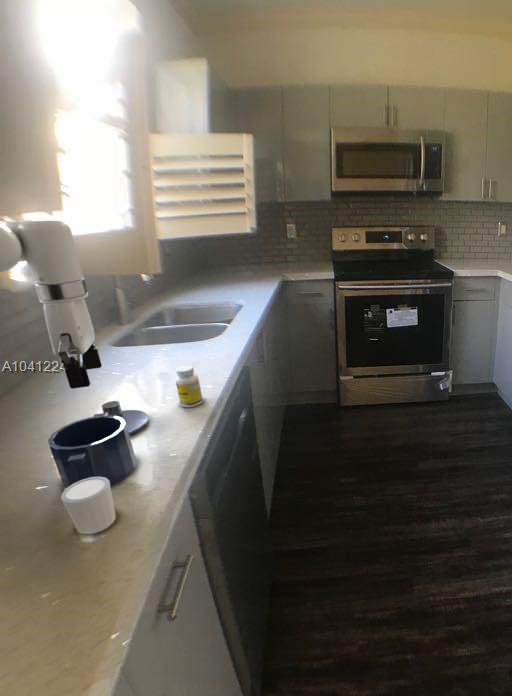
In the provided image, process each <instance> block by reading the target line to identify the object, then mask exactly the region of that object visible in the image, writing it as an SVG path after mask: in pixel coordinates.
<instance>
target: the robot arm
mask: <svg viewBox="0 0 512 696" xmlns="http://www.w3.org/2000/svg"><path fill="white" fill-rule="evenodd" d="M73 236H74V235H73V232H72V229H71V227H70V224H69V223H68V222H67V221H65V220H63V219H60V218H38V219H27V220H22V221H10V220H9V221H8V220H0V273H3V272H6V271H10V270H11V269H13V268H14V267H15V266H17V265H18V264H19V263H20V262H26V263H27V265H28V268H29V272H30V275H31V278H32V282H33V285H34V288H35V291H36V294H37V298H38V301H39V303H41V304H43V314H44V318H45V324H46V328H47V333H48V336H49V341H50V344H51V348H52V353H53V355H54V356H56V357H57V358H58V357H59V358H60V360H61V361H60V362H61V364H62V367H63V370H64V373H65V377H66V379H67V382H68V386H69V388H70V389H72V390H73V389H81V388H89V387H90V385H91V380H90V378H89V375H88V371H87V370H95V369H100V368H102V366H103V365H102V361H101V358H100V354H99V349H98V348H97V343H96V341H95V340H96V334H95V330H94V325H93V322H92V319H91V315H90V312H89V308H88V306H87V303H86V300H85V299H86V298H88V297H89V292H88V288H87V285H86V282H85V281H86V280H85V278H84V274H83V269H82V266H81V262H80V259H79V255H78V252H77V247H76V243H75V240H74V237H73Z"/></svg>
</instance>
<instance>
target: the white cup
mask: <svg viewBox="0 0 512 696" xmlns="http://www.w3.org/2000/svg"><path fill="white" fill-rule="evenodd" d="M111 487H112V486H110V482H109V480H108V479H107V478H105V477H90V478H87V479H83V480H80V481H78V482H76V483H74V484H72V485H71V486H69V487H68V488H66V489H65V488H64V490H63V491H62V493H61V496H60V499H61V501H62V503H63V505H64V507H65V510H67V513H68V514H69V516H70V518H71V520H72V522H73V524H74V526H75V527H76V530H77V532H78V533H79V534H81V535H94V534H97V533H99V532H103V531H104V530H106V529H108V528H109V527H111V525H113V524H114V522H115V520H116V511H115V504H114V500H113V494H112V488H111Z"/></svg>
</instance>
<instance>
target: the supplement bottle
mask: <svg viewBox="0 0 512 696" xmlns="http://www.w3.org/2000/svg"><path fill="white" fill-rule="evenodd" d="M175 370H176V375H177V376H176V378H175V386H176V390H177V394H178V399H179V404H180V406H181V407H184V408H192V407H193V408H194V407H197V406H199V405H200V404H202V402H203V401H204V400H203V394H202V389H201V385H200V379H199V375H197V373H195V369H194V366H192V365H182V366H179V367H177V368H176V369H175Z"/></svg>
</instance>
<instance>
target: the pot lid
mask: <svg viewBox="0 0 512 696" xmlns="http://www.w3.org/2000/svg"><path fill="white" fill-rule="evenodd" d="M101 410H102V413H108V415H112V416H118V417H121V418H123V419H124V421H125V422H126V425H127V429H128V432H129V436H130V435H132V434H134V433H136V432H138V431H140V430H141V429H143V428H144V427H145V426H146V425H147V424H148V422H149V415H148V413H146V412H145V411H142V410H138V409H125V410H122V406H121V404H120V401H118V400H112V401H107V402H104V403H103V404H102V405H101Z"/></svg>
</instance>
